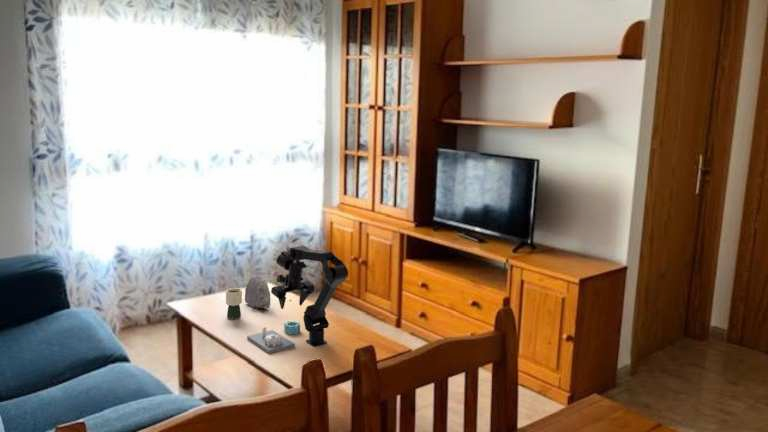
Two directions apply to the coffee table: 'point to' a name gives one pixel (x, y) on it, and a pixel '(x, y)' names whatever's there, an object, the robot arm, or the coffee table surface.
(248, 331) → the coffee table surface
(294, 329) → the teal gear
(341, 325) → the coffee table surface
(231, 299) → the character mug
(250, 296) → the decorative rock
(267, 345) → the gear board
